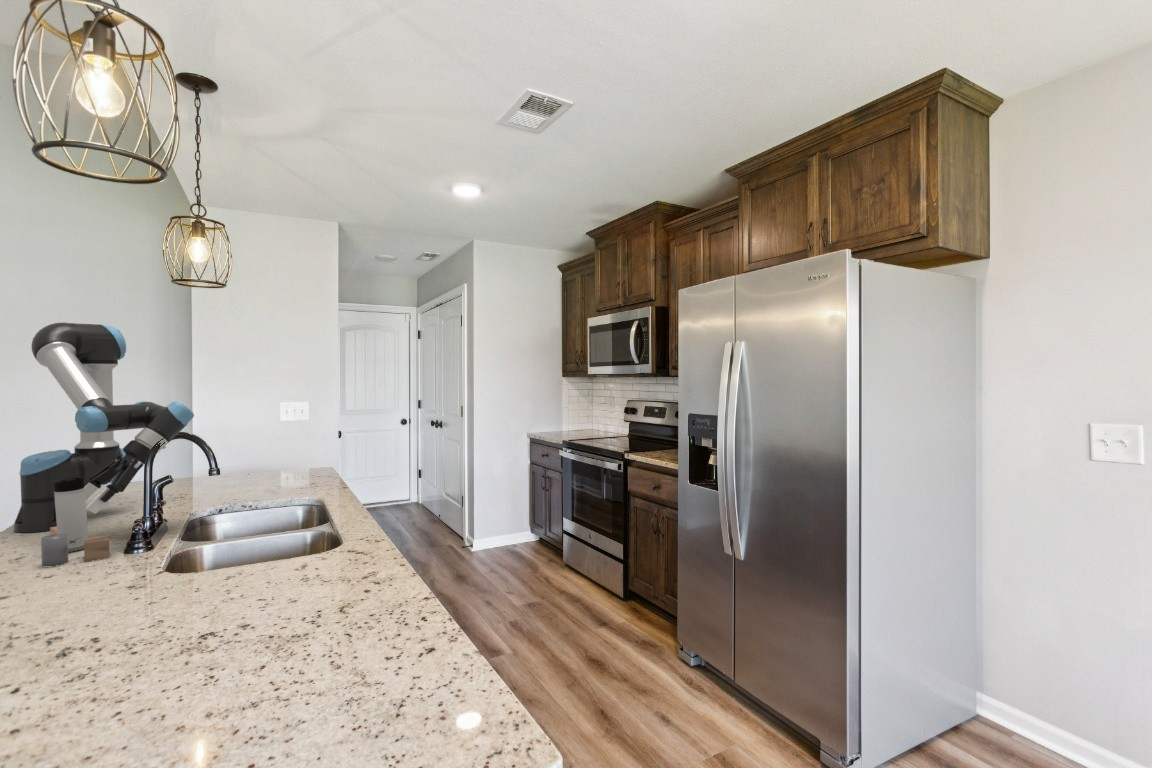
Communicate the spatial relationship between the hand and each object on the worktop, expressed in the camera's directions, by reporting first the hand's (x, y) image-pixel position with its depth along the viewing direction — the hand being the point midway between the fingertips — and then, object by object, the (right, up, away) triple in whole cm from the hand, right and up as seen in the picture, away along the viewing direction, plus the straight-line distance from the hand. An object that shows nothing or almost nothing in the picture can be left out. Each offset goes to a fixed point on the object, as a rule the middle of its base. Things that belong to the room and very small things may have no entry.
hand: (81, 507), depth 156 cm
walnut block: (+10, -12, -6) cm, 17 cm away
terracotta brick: (-12, -12, +8) cm, 19 cm away
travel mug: (-2, -12, 0) cm, 12 cm away
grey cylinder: (+3, -12, -11) cm, 16 cm away
